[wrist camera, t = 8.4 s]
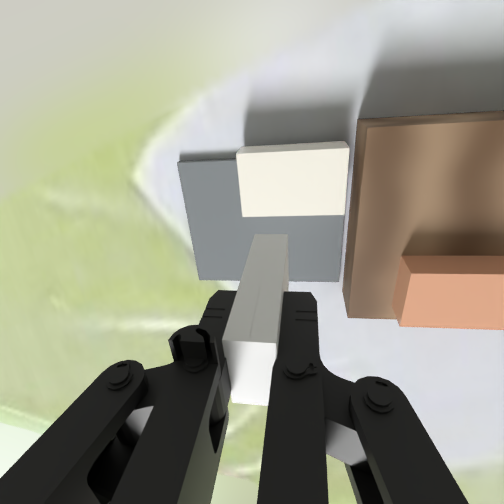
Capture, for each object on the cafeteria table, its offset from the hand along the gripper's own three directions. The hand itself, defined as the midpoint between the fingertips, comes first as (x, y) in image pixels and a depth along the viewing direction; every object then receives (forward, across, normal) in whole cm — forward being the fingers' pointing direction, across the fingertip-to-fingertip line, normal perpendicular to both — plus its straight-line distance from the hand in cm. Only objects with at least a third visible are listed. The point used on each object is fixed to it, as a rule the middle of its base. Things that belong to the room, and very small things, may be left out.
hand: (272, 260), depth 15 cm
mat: (+14, +2, +4) cm, 14 cm away
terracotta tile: (+10, -13, +8) cm, 18 cm away
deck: (+14, -13, +4) cm, 20 cm away
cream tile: (+13, 0, 0) cm, 13 cm away
